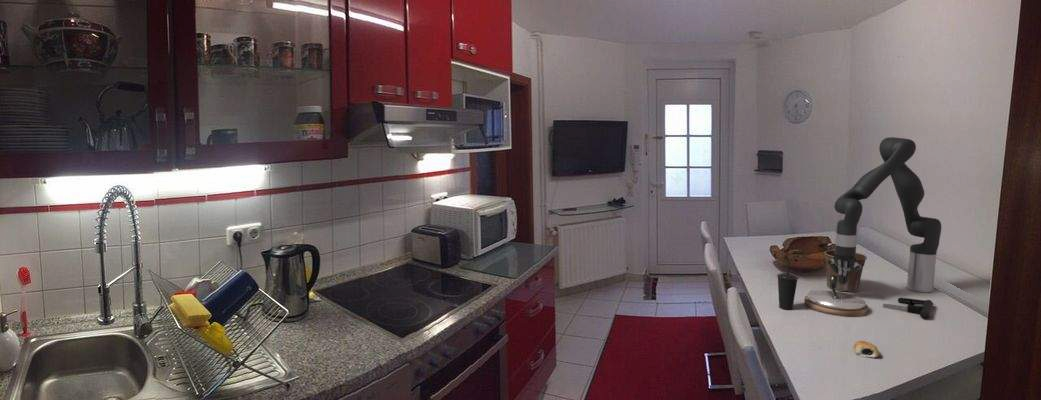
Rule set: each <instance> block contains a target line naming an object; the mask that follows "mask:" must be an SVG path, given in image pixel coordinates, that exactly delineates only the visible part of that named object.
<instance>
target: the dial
mask: <svg viewBox="0 0 1041 400" xmlns="http://www.w3.org/2000/svg"><path fill="white" fill-rule="evenodd" d="M836 286H837V276H835V275H830V285H829V287H831V288H832V289H831V288H830V289H831V290H812V291H809V292H808V293H807V295H808V296H807V295H806V296H807V298H808V300H809V301H810V302H812V303H814V304H817V305H820V306H823V307H827V308H832V309H839V310H860V309H863V308H865V304H866V301H865V300H864V299H863V298H861V297H859V296H857V295H854V294H850V293H848V292H846V293H845V292H843V291H837V290H835V288H836ZM829 287H828V288H829Z"/></svg>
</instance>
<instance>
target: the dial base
mask: <svg viewBox="0 0 1041 400" xmlns="http://www.w3.org/2000/svg"><path fill="white" fill-rule="evenodd" d="M807 296H808V294H807V295H805V296H804V300H803V301H804V302H803V303H804V305H805V306H806V307H807V308H809V309H811V310H813V311H815V312H819V313H821V312H822V314H826V315H831V316H836V317H837V316H838V317H846V318H855V317H863V316H866V315H868V313H869V306H868V305H867V304H866V303H865V308H863V309H860V310H839V309H832V308H827V307H823V306H820V305H817V304H814V303H812V302H810V301H809V300H808V298H807Z"/></svg>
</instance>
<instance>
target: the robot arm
mask: <svg viewBox="0 0 1041 400" xmlns="http://www.w3.org/2000/svg"><path fill="white" fill-rule="evenodd" d="M878 148H879V154H880V156H881V159H882V160H883V163H881V164H880V165H878V166H877V167H875V168H873V169H871V170H869V171H867V173H864V174H863V175H862V176H861V177H860V178H859V179H858V180H857V181H856V183H855V184H854V185H853V186H852V187H851V188H850V189H848V190H847V191H846V192H844V193H843V194H841V196H839V197H837V199H836V201H835V202H834V206H833V208H834V210H835V211H836V212H837V213H839V214H841V215H844V218H843V219H840V220H838V221H837V223H836V224H837V225H836V233H835V241H834V243H835V244H834V250H835V255H834V257H833V259H831V260H828V261H827V262H828V264H829V265H830V266H831V268H832V269H833V271H834V272H835V273H838V274H839V282H840V284H846V283H847V280H848V275H849V276H850V275H852V274H854V273H855V272H856V271H857V270H859V269H860V268H861V267H862V265H859V264H858V263H857V262H856V258H855V256H856V253H857V244H858V243H857V242H858V240H857V231H858V227H857V226H858V224H859V222H860V219H861V216H862V213H863V204H862V202H861V200H867V199H869V197H870V196H871V195H872V194H873V193H874V192H875V191H876V190H877V188H878V187H879V186H880V185H881V184H882V183H883V182H884V181H885V180H886V179H888V178H889V177H890V178H891V180H892V183H893V185H894V189H895V191H896V194H897V197H898V200H899V203H900V205H901V208H902V212H903V217H904V221H905V226H906V230H907V232H908V234H910V235H911V236H914V237H918V238H923V241H922V242H921V243H914V244H911V245H910V246H909V256H908V257H909V260H908V268H907V278H906V281H907V282H906V289H908V290H910V291H914V292H917V293H918V292H919V293H933V292H934V284H935V283H934V282H935V275H936V273H935V272H936V264H937V252H938V249H939V245H940V238H941V236H942V235H941V234H942V223H941V221H940V219H938V218H934V217H926V216H921V215H920V213H919V206H920V204H921V203H922V201H923V199H924V197H925V189H924V186H923V184H922V180H921V179H920V177H919V176H918V175H917V174H916V173H915V172H914V171H913V170H912V169H911V168H910V167H909V166H908V165H907V164H906V162H908V161H909V160H910V159H911V158H912V157H913V156H914V154H915V153H916V149H917V144H916V142H915V141H914V140H912V139H910V138H905V137H904V138H902V137H896V136H895V137H892V136H891V137H888V136H887V137H885V138H883V139H882V140H881V141H880V144H879V147H878ZM835 262H836V264H837V265H838V267H837V266H836V265H835ZM853 265H854V269H853V270H851V271H850V272H849V270H850V267H852V266H853Z"/></svg>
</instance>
